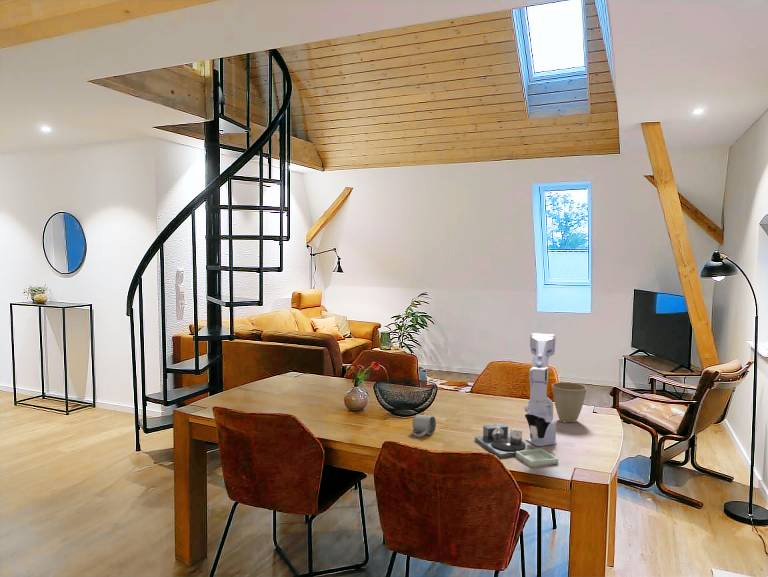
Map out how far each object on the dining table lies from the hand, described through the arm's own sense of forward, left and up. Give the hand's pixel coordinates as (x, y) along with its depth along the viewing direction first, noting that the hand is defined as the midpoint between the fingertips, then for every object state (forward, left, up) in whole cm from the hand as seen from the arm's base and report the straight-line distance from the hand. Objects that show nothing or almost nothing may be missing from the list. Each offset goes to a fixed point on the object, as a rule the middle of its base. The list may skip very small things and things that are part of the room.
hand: (537, 435), depth 211 cm
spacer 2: (0, 0, -1) cm, 1 cm away
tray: (0, 0, -9) cm, 9 cm away
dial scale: (+4, -16, -9) cm, 19 cm away
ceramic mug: (+29, -40, -10) cm, 51 cm away
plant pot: (-41, -37, -10) cm, 56 cm away
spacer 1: (0, -14, -7) cm, 15 cm away
